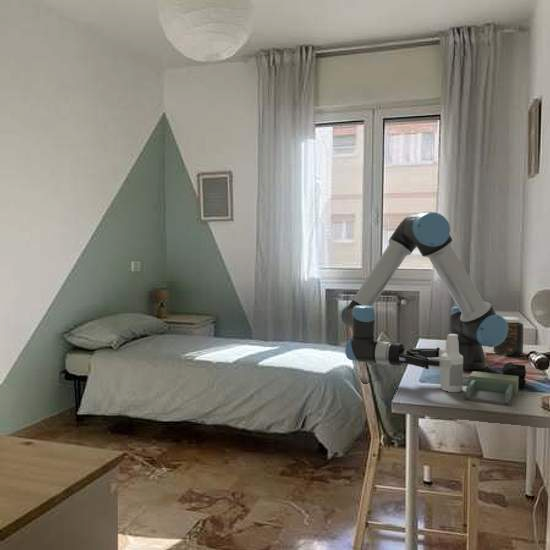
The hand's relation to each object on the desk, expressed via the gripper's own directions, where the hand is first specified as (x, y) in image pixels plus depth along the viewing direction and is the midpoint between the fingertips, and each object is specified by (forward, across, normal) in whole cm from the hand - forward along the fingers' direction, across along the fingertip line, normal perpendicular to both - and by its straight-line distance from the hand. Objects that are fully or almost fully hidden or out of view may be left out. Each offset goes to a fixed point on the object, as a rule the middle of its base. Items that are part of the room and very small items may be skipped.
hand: (455, 360), depth 175 cm
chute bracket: (+11, -1, -10) cm, 15 cm away
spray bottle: (-1, 0, -10) cm, 10 cm away
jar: (+9, -71, -10) cm, 73 cm away
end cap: (+16, -16, -10) cm, 25 cm away
